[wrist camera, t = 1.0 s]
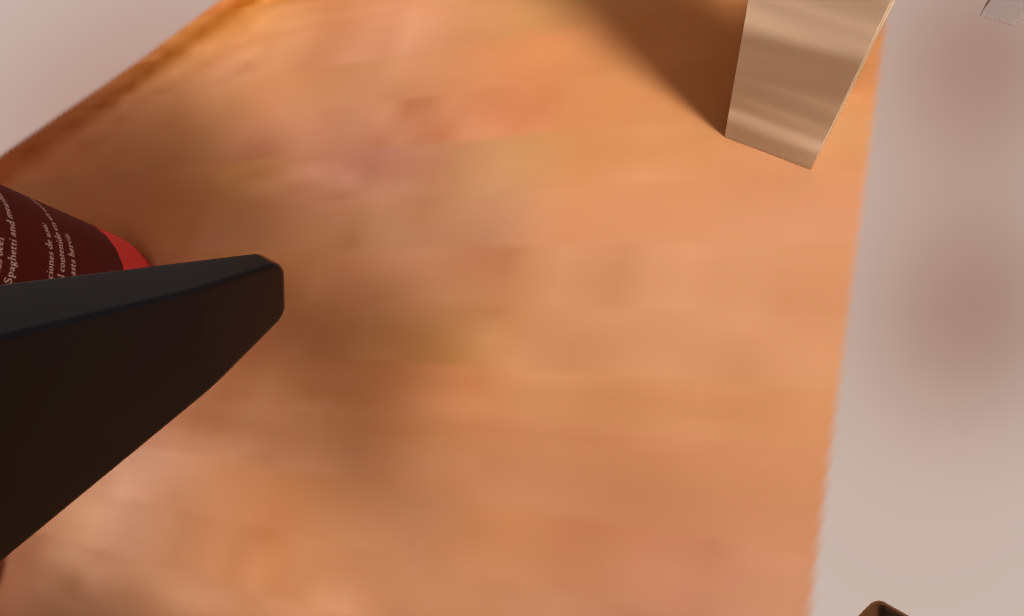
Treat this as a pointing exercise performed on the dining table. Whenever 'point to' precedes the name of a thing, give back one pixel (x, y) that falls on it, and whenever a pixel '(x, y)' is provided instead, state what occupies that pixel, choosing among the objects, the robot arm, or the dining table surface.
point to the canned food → (55, 243)
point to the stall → (1003, 10)
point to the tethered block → (799, 71)
